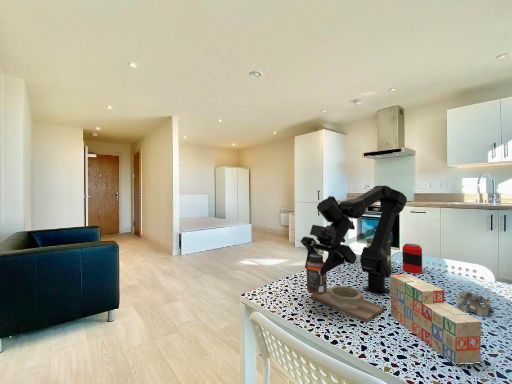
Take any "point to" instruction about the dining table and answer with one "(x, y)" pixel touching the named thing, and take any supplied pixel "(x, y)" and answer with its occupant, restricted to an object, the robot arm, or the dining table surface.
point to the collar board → (355, 313)
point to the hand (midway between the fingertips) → (313, 271)
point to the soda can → (412, 258)
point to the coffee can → (387, 250)
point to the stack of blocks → (435, 319)
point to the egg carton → (473, 303)
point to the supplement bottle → (316, 275)
